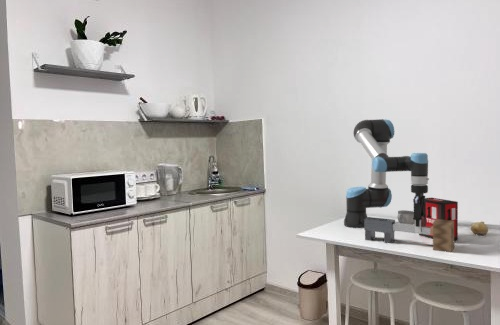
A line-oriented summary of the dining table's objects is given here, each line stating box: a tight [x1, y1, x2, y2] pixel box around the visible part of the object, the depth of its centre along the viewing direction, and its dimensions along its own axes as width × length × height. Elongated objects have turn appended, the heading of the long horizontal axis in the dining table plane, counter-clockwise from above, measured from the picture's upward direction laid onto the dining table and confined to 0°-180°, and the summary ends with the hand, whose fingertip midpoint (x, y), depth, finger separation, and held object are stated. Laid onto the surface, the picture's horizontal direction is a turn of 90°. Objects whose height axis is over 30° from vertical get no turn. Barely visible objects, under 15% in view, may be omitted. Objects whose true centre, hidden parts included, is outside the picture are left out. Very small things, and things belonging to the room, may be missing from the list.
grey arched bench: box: [363, 216, 396, 244], centre depth 197 cm, size 14×7×11 cm, turn 53°
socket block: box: [432, 219, 455, 253], centre depth 178 cm, size 8×9×13 cm
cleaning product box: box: [418, 197, 459, 242], centre depth 198 cm, size 16×9×20 cm, turn 21°
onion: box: [470, 221, 489, 236], centre depth 203 cm, size 8×8×7 cm
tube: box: [392, 215, 433, 235], centre depth 187 cm, size 21×5×8 cm, turn 53°
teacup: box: [396, 209, 415, 225], centre depth 229 cm, size 14×11×8 cm
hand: (419, 231), depth 185 cm, fingers closed on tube, 5 cm apart
